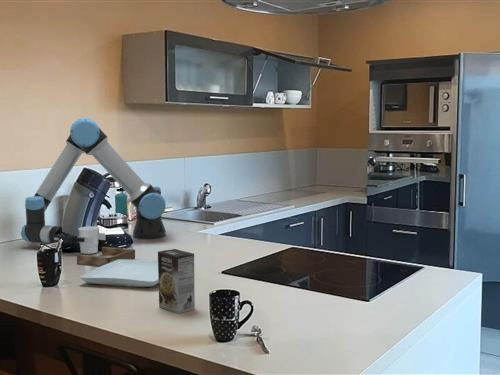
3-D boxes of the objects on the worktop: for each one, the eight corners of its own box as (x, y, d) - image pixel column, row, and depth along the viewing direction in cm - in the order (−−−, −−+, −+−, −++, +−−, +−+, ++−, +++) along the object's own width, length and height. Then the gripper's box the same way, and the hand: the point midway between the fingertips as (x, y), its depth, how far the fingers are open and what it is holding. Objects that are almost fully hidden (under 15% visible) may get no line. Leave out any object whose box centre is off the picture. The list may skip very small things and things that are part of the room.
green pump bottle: (126, 226, 308) (125, 187, 306) (114, 226, 308) (112, 187, 306) (129, 224, 314) (128, 186, 312) (117, 224, 315) (115, 186, 312)
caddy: (77, 264, 223) (76, 255, 223) (103, 255, 238) (103, 246, 238) (109, 267, 217) (109, 258, 217) (135, 258, 232) (134, 249, 232)
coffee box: (158, 307, 169) (156, 251, 168) (176, 302, 174) (174, 248, 172) (177, 314, 163) (176, 256, 161) (196, 309, 167) (194, 252, 166)
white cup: (101, 250, 247) (101, 226, 246) (95, 254, 239) (94, 229, 238) (83, 250, 247) (82, 226, 246) (76, 254, 240) (75, 229, 239)
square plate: (187, 271, 212) (187, 261, 211) (155, 292, 186) (154, 280, 185) (118, 267, 219) (118, 257, 219) (78, 287, 193) (77, 275, 192)
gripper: (70, 239, 259) (114, 242, 250) (36, 248, 241) (82, 252, 232) (70, 222, 259) (113, 225, 250) (35, 230, 240) (81, 233, 231)
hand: (98, 238), depth 241 cm, fingers closed on white cup, 8 cm apart
